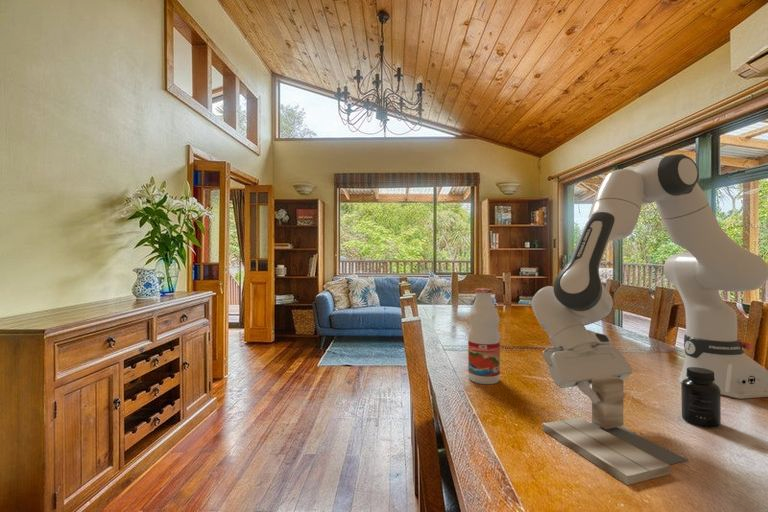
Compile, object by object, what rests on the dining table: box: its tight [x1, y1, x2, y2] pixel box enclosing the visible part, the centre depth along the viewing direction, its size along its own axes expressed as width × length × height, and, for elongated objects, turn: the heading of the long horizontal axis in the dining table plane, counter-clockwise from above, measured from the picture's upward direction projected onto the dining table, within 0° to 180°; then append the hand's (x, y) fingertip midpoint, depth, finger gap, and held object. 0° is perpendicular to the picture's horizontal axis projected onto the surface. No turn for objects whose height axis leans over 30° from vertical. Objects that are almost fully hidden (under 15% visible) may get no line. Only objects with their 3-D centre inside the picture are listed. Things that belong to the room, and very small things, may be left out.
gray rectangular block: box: [591, 375, 624, 429], centre depth 81 cm, size 4×5×10 cm
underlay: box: [590, 422, 689, 466], centre depth 76 cm, size 17×7×1 cm, turn 17°
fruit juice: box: [467, 287, 501, 385], centre depth 113 cm, size 9×9×28 cm
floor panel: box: [542, 416, 671, 486], centre depth 73 cm, size 20×10×2 cm, turn 17°
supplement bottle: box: [680, 367, 722, 429], centre depth 84 cm, size 7×7×12 cm
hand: (610, 400), depth 80 cm, fingers closed on gray rectangular block, 5 cm apart
